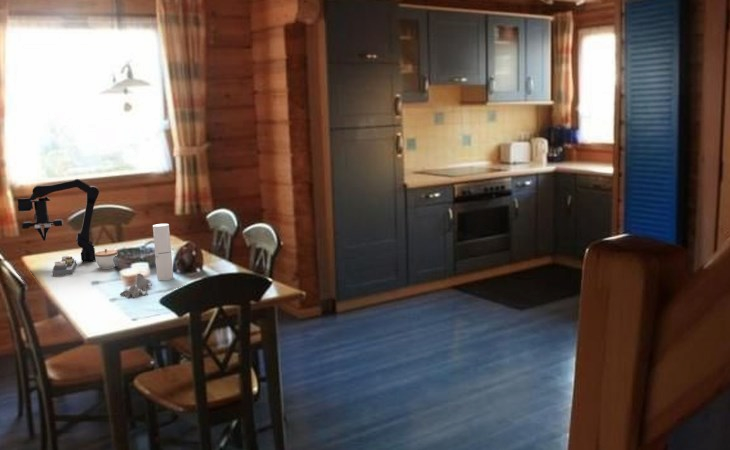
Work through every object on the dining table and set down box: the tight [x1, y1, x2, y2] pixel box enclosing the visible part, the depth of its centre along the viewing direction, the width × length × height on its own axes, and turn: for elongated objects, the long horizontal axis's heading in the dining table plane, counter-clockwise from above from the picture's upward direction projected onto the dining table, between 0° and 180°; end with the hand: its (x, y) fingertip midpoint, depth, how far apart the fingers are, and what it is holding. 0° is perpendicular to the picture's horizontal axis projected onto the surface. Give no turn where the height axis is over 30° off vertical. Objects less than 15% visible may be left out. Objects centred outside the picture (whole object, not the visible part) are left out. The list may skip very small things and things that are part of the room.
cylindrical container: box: [152, 223, 174, 281], centre depth 323 cm, size 7×7×25 cm
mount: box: [51, 258, 77, 277], centre depth 348 cm, size 9×21×4 cm, turn 17°
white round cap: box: [61, 255, 74, 261], centre depth 353 cm, size 5×5×6 cm
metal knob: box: [66, 256, 73, 266], centre depth 347 cm, size 3×3×4 cm
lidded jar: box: [95, 248, 119, 270], centre depth 350 cm, size 11×11×9 cm
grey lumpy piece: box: [119, 273, 153, 299], centre depth 303 cm, size 20×10×9 cm
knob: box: [54, 260, 66, 267], centre depth 341 cm, size 5×5×6 cm
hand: (44, 240), depth 358 cm, fingers closed
